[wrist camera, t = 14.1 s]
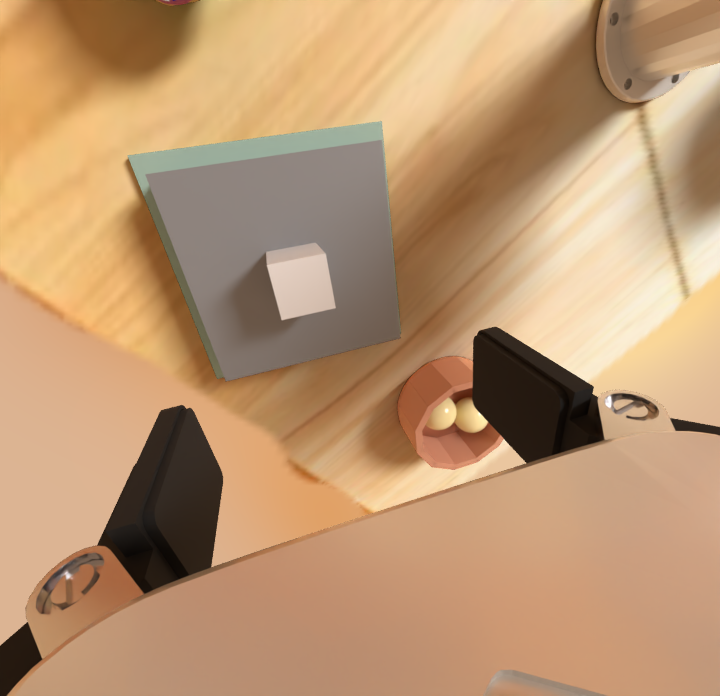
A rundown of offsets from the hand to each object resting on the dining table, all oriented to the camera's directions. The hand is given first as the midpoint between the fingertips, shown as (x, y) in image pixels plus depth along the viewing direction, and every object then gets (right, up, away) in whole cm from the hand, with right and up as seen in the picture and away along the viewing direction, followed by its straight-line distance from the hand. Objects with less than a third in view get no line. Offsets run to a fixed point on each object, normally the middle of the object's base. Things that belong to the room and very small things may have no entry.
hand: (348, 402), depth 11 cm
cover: (-6, +10, +20) cm, 23 cm away
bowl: (+11, -5, +33) cm, 35 cm away
